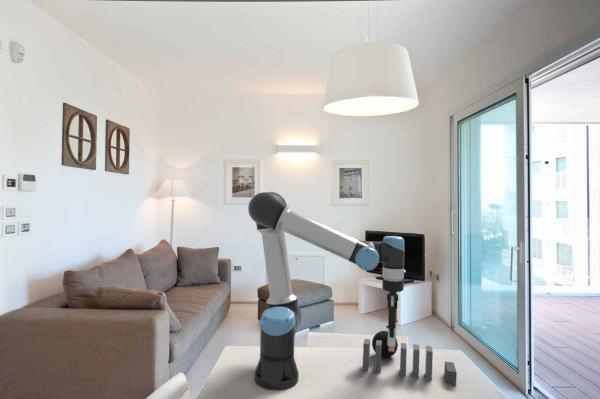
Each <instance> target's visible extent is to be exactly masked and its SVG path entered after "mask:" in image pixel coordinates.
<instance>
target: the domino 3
mask: <svg viewBox="0 0 600 399" xmlns="http://www.w3.org/2000/svg"><path fill="white" fill-rule="evenodd" d="M394 349H395V346H389V351H392V352H394Z"/></svg>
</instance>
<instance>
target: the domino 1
mask: <svg viewBox="0 0 600 399" xmlns="http://www.w3.org/2000/svg"><path fill="white" fill-rule="evenodd" d="M370 347H371V339H370V338H364V341H363V351H362V372H369V370H370V369H369V368H370V358H371V357H370V356H371V355H370V354H371V353H370V352H371V348H370Z"/></svg>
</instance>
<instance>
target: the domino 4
mask: <svg viewBox="0 0 600 399" xmlns="http://www.w3.org/2000/svg"><path fill="white" fill-rule="evenodd" d="M407 346H408V344H407V343H405V342H400V353H399V354H400V356H399V357H400V359H399V362H400V363H399V367H400V368H399V376H400V377H407V376H406V375H407V354H408V353H407Z"/></svg>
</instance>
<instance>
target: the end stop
mask: <svg viewBox="0 0 600 399" xmlns="http://www.w3.org/2000/svg"><path fill="white" fill-rule="evenodd" d="M443 371H444V373H443V374H444V378H445V381H446V385H450V386H451V385H452V386H457V369H456V366H455V363H454V362H452V361H444V370H443Z"/></svg>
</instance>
